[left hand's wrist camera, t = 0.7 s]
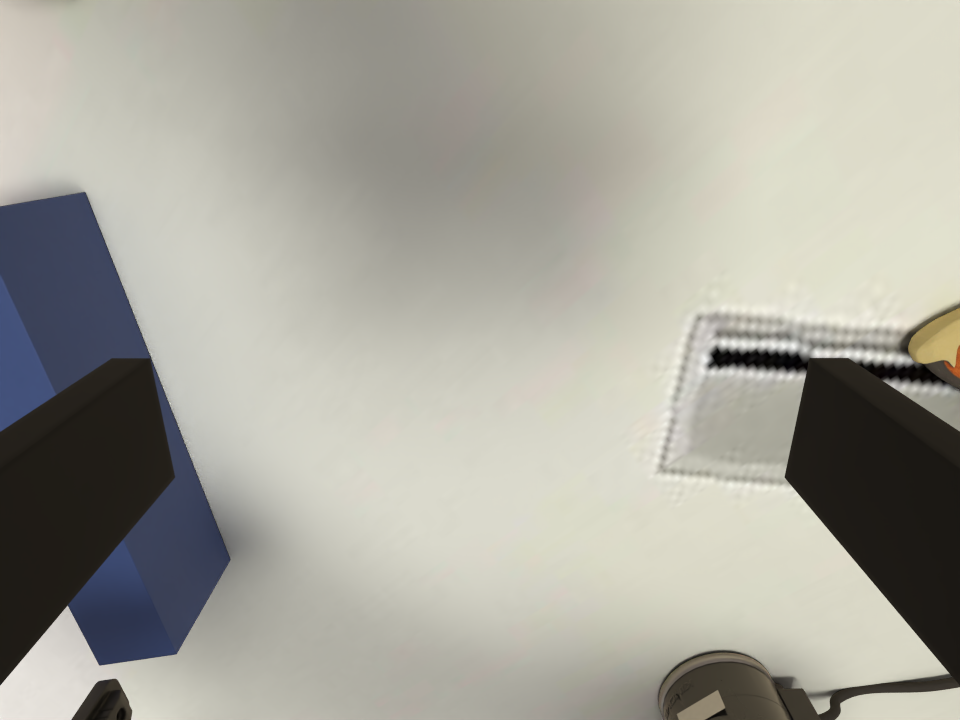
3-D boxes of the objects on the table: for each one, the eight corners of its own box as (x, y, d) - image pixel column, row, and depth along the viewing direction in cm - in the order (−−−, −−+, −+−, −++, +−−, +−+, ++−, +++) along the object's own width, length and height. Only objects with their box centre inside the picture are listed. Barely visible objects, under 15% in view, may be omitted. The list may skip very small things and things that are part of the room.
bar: (6, 207, 37) (-130, 231, 29) (85, 192, 37) (-30, 211, 29) (166, 569, 47) (99, 665, 38) (230, 559, 46) (176, 654, 38)
